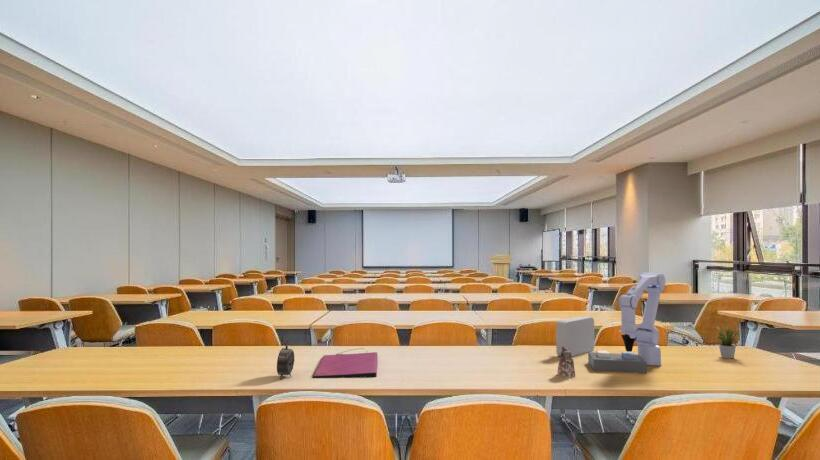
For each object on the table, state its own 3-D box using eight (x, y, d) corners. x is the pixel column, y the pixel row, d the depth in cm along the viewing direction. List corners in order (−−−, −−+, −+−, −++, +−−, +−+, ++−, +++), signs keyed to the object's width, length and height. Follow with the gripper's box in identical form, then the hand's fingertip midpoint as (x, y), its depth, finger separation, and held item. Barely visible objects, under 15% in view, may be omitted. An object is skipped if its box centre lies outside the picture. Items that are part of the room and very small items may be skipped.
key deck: (638, 365, 208) (637, 354, 209) (646, 373, 195) (646, 362, 195) (588, 362, 213) (588, 352, 213) (593, 370, 200) (593, 359, 200)
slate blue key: (633, 362, 205) (633, 352, 205) (636, 364, 200) (636, 354, 200) (621, 361, 206) (621, 351, 206) (624, 364, 201) (624, 354, 201)
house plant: (753, 358, 222) (752, 325, 222) (742, 362, 214) (741, 328, 214) (720, 353, 233) (719, 321, 234) (708, 356, 226) (708, 324, 226)
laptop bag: (376, 369, 189) (312, 371, 187) (376, 378, 189) (312, 381, 187) (377, 347, 229) (324, 349, 227) (377, 355, 229) (325, 357, 227)
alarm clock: (284, 373, 194) (284, 336, 195) (296, 373, 194) (296, 336, 195) (275, 380, 183) (276, 341, 184) (288, 381, 183) (289, 341, 184)
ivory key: (608, 360, 207) (607, 351, 207) (610, 363, 202) (610, 353, 203) (596, 360, 208) (596, 350, 209) (598, 362, 203) (598, 352, 204)
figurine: (562, 378, 188) (562, 349, 188) (554, 373, 195) (554, 346, 195) (578, 377, 189) (577, 349, 189) (569, 372, 196) (569, 345, 196)
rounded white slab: (581, 347, 245) (581, 315, 246) (594, 350, 239) (594, 316, 240) (552, 355, 227) (551, 320, 228) (565, 358, 221) (565, 322, 222)
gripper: (615, 318, 212) (615, 347, 211) (622, 323, 198) (623, 354, 197) (631, 319, 210) (631, 348, 209) (640, 324, 196) (640, 355, 195)
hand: (628, 351), depth 203 cm, fingers closed
